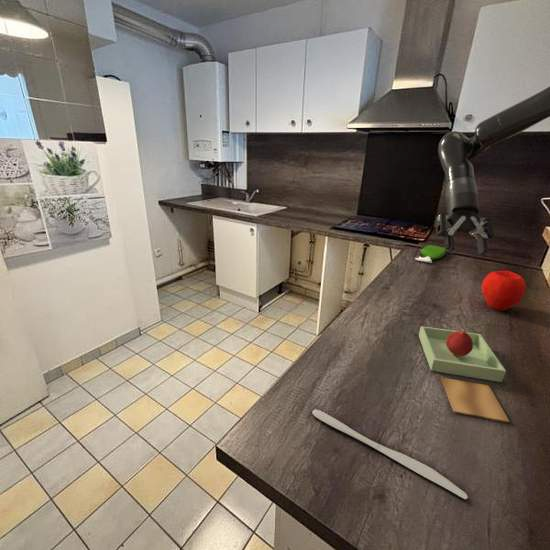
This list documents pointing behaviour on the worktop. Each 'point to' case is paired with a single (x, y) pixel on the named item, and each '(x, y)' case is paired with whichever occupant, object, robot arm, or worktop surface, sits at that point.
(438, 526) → the worktop surface
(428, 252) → the spray bottle
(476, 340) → the tray
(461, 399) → the cork mat
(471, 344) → the red rounded piece
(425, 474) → the butter knife
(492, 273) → the apple
